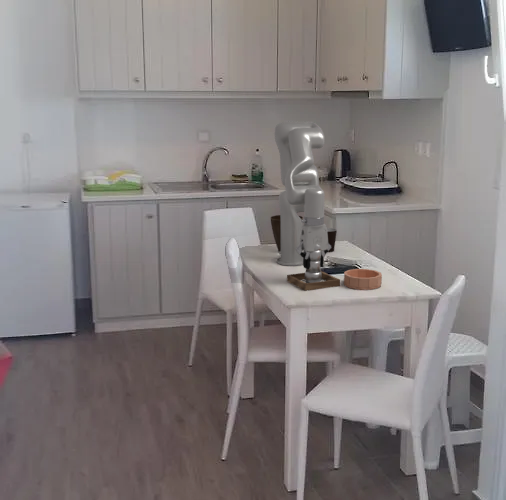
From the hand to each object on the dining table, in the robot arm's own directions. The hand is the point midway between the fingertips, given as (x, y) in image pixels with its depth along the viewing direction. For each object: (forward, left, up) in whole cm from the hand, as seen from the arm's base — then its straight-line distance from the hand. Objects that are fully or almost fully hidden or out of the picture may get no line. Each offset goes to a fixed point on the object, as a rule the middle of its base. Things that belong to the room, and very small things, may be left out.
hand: (313, 267), depth 270 cm
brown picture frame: (0, 0, -7) cm, 7 cm away
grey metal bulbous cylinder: (0, 0, -7) cm, 7 cm away
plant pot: (-53, +16, -7) cm, 56 cm away
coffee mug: (-47, +34, -7) cm, 58 cm away
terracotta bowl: (+10, +16, -7) cm, 20 cm away
